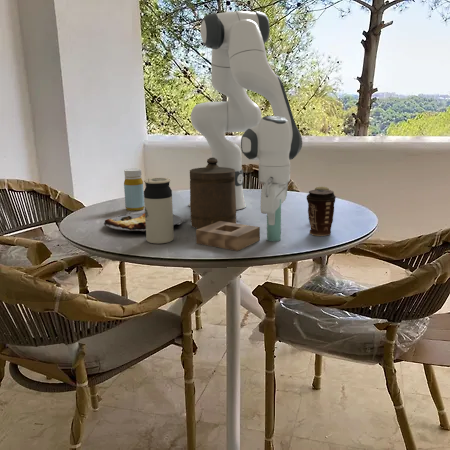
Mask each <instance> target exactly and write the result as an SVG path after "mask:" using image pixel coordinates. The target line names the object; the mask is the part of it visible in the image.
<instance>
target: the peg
mask: <svg viewBox="0 0 450 450" xmlns="http://www.w3.org/2000/svg"><path fill="white" fill-rule="evenodd" d="M275 218H276V221H275V222H276V223H275V224H274V225H269V224H268V215H267V214H266V240H267V241H268V242H279V241H281V239H282V238H281V237H282V236H281V233H282V232H281V231H282V226H281V225H282V204H281V199H280V206H279V208H278V209H277V210H276V211H275Z"/></svg>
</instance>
